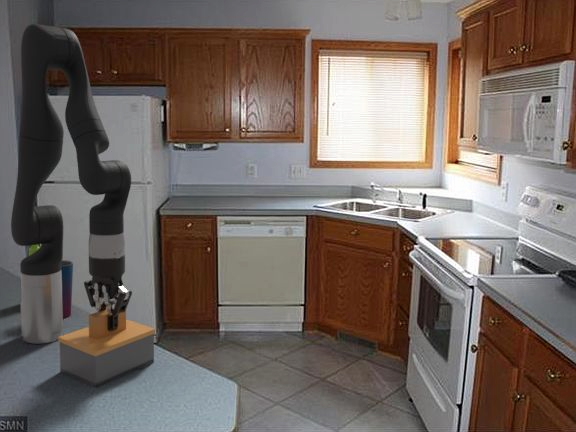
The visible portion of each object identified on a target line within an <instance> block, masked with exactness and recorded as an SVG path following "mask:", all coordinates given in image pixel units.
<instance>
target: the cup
mask: <svg viewBox="0 0 576 432" xmlns="http://www.w3.org/2000/svg"><path fill="white" fill-rule="evenodd" d="M61 273H62V308H63V319H66V318H70V317H72V316H71V315H72V298H73V278H74V277H73V273H74V262H73V261H71V260H63V259H62V263H61Z"/></svg>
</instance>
